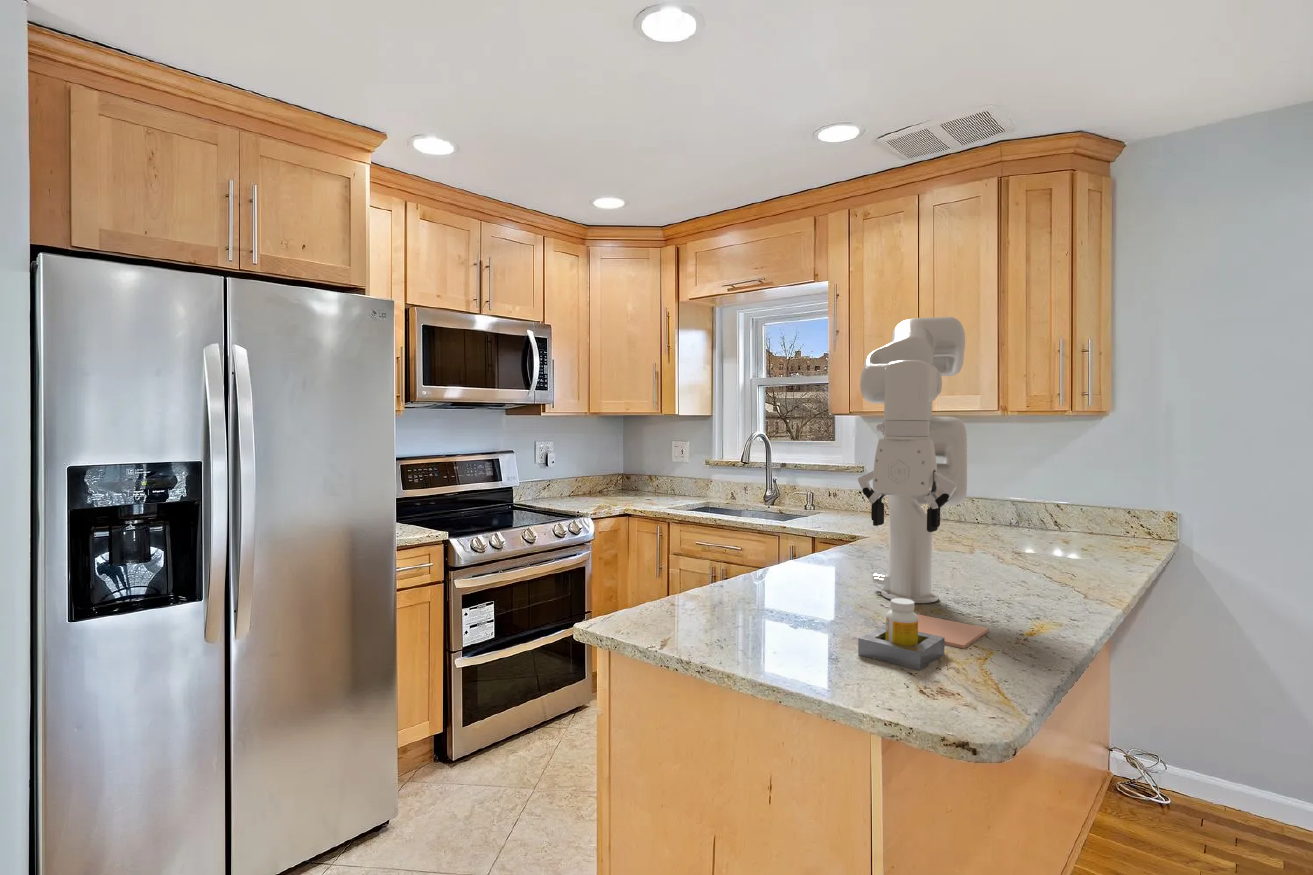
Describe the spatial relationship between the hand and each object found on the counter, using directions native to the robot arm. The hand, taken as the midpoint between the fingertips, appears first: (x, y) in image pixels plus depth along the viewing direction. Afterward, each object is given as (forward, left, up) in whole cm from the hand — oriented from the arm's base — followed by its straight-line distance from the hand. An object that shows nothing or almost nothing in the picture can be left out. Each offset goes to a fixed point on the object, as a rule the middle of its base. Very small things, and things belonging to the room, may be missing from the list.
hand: (904, 527), depth 122 cm
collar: (0, 0, -23) cm, 23 cm away
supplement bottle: (0, 0, -23) cm, 23 cm away
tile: (0, +18, -23) cm, 29 cm away
